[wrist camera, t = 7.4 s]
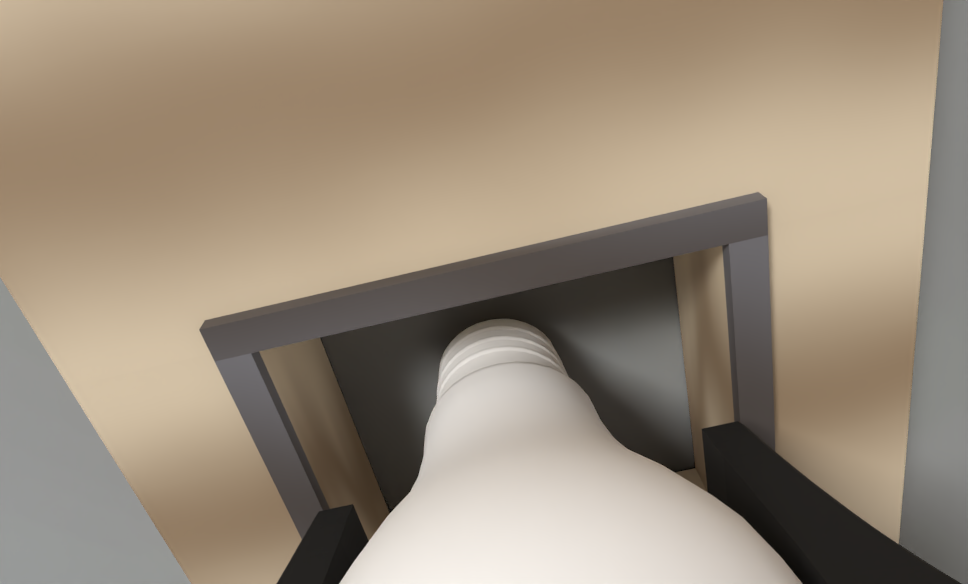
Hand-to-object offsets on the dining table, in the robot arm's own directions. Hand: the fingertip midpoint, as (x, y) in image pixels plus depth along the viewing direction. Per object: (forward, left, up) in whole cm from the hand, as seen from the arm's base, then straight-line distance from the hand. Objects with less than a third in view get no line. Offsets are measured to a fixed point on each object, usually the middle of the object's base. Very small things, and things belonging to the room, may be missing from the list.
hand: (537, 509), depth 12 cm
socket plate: (0, 0, -4) cm, 4 cm away
